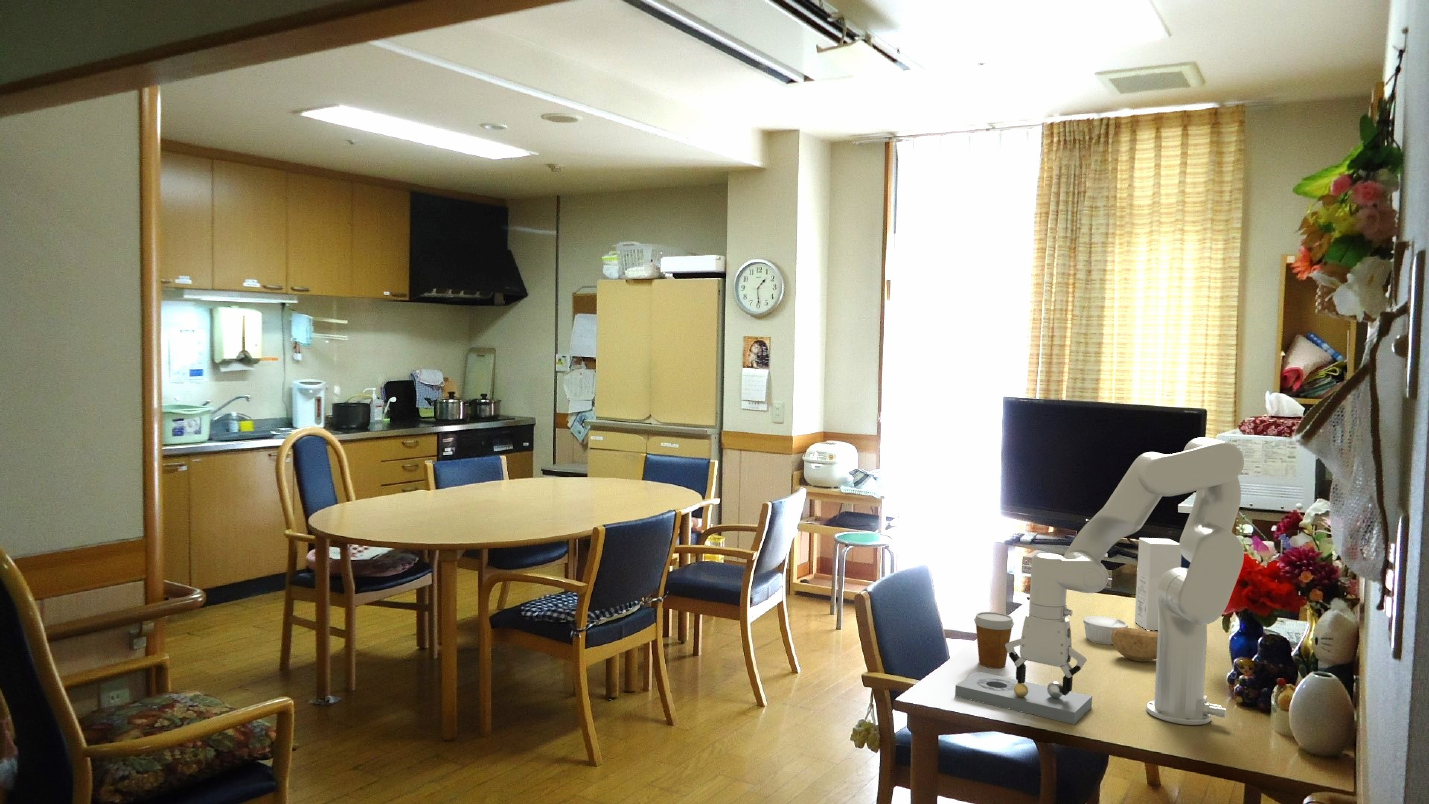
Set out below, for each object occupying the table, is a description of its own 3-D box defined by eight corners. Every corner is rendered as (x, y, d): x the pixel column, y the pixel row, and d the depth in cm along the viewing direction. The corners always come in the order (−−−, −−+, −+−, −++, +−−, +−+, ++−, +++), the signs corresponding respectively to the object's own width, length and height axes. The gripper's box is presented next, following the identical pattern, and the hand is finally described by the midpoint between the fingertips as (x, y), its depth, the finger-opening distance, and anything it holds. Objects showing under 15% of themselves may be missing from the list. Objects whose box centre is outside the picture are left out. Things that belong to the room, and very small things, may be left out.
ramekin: (1133, 647, 265) (1134, 627, 264) (1091, 645, 265) (1092, 626, 264) (1117, 635, 276) (1118, 616, 276) (1076, 634, 276) (1077, 615, 276)
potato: (1171, 669, 246) (1173, 637, 245) (1110, 661, 251) (1111, 630, 250) (1169, 658, 255) (1170, 628, 254) (1110, 651, 260) (1111, 621, 259)
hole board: (1091, 707, 217) (1092, 696, 217) (1074, 724, 206) (1074, 712, 206) (976, 681, 232) (977, 671, 232) (955, 696, 221) (955, 685, 221)
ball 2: (1065, 697, 215) (1066, 681, 215) (1060, 701, 212) (1061, 685, 212) (1049, 693, 217) (1050, 678, 217) (1044, 698, 214) (1045, 682, 214)
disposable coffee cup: (974, 656, 252) (976, 609, 251) (1013, 661, 248) (1015, 614, 248) (970, 667, 243) (972, 618, 242) (1010, 672, 239) (1012, 623, 239)
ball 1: (1029, 696, 215) (1030, 683, 215) (1025, 700, 213) (1025, 686, 212) (1016, 693, 217) (1016, 680, 217) (1011, 697, 214) (1012, 683, 214)
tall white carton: (1177, 632, 280) (1182, 544, 279) (1146, 630, 281) (1150, 543, 280) (1165, 623, 289) (1169, 538, 288) (1134, 622, 290) (1138, 537, 288)
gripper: (1093, 614, 213) (1088, 693, 214) (1013, 601, 223) (1009, 676, 224) (1083, 621, 207) (1079, 702, 208) (1002, 607, 217) (998, 684, 218)
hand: (1043, 688), depth 216 cm, fingers open, 9 cm apart
